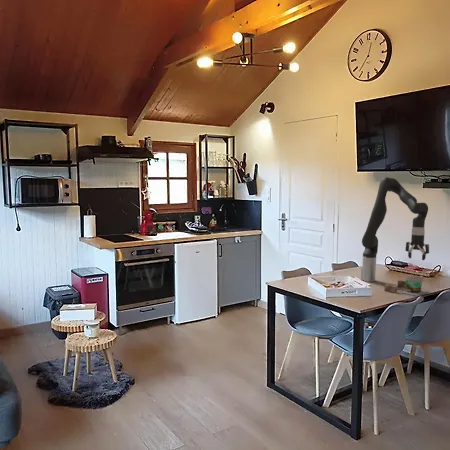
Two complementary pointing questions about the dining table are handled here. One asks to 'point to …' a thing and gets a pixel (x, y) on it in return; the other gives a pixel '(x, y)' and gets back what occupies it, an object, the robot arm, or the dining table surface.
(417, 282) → the food container
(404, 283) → the clamp blocks
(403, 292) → the slate pad
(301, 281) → the dining table surface
